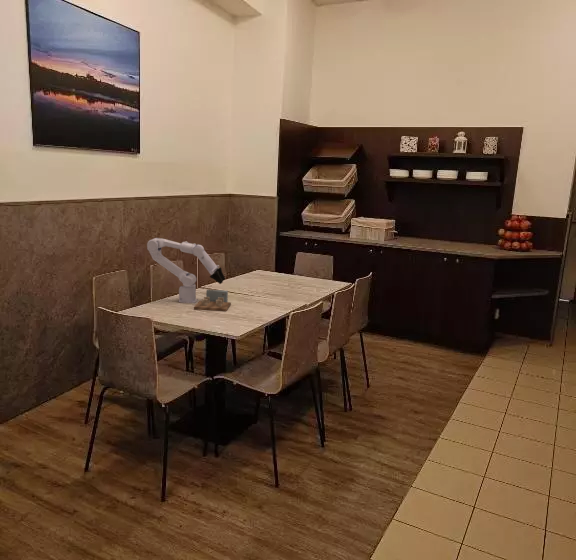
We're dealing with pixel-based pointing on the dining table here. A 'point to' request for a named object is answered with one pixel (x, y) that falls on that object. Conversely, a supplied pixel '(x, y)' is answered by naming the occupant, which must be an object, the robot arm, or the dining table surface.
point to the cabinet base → (212, 305)
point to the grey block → (217, 295)
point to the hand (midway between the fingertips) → (222, 281)
